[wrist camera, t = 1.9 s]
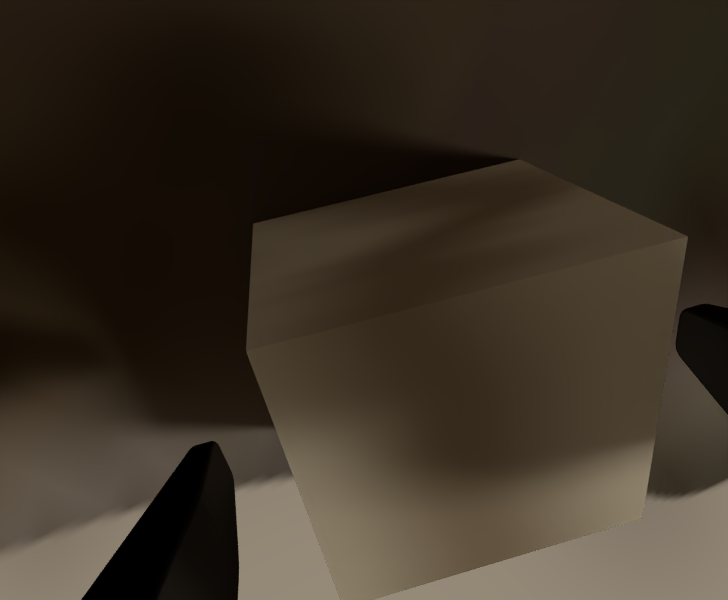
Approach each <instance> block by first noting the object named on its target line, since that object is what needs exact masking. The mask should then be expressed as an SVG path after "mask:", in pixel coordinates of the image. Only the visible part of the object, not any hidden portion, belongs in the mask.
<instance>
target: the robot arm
mask: <svg viewBox="0 0 728 600" xmlns="http://www.w3.org/2000/svg"><path fill="white" fill-rule="evenodd" d="M676 350H677V352H678V354H679V356H680V357H681V359H682V360H683V361H684V362H685V364H686V365H687V366H688V367H689V368H690V370H691V371H692V372H693V373H694V374H695V376H696V377H697V378H698V379H699V381H700V382H701V383H702V384H703V385H704V387H705V388H706V389H707V390H708V391H709V393H710V394H711V395H712V396H713V397H714V399H715V400H716V401H717V402H718V404H719V405H720V406H721V407H722V408H723V410H724V411H725V412H726V413H727V414H728V308H724V307H720V306H715V305H710V304H700V305H697V306H693V307H690V308H686V309H685V310H683V311H682V313H681V314H680V318H679V324H678V330H677V337H676ZM238 556H239V555H238V538H237V522H236V506H235V489H234V479H233V475H232V472H231V469H230V467H229V465H228V463H227V461H226V459H225V457H224V455H223V453H222V451H221V449H220V447H219V445H218V444H217V443H216V442H214V441H210V442H206V443H203V444H199V445H196V446H193V447H192V448H191V449H190V450H189V451H188V453H187V454H186V455H185V457H184V458H183V460H182V461H181V462H180V464H179V465H178V467H177V468H176V469H175V471H174V472H173V473H172V475H171V476H170V478H169V479H168V480H167V482H166V483H165V485H164V486H163V487H162V489H161V490H160V491H159V493H158V494H157V496H156V497H155V498H154V500H153V501H152V503H151V504H150V505H149V507H148V508H147V509H146V511H145V512H144V514H143V515H142V516H141V518H140V519H139V521H138V522H137V523H136V525H135V526H134V527H133V529H132V530H131V532H130V533H129V534H128V536H127V537H126V539H125V540H124V541H123V543H122V544H121V545H120V547H119V548H118V550H117V551H116V553H115V554H114V555H113V557H112V558H111V559H110V561H109V562H108V563H107V565H106V566H105V568H104V569H103V570H102V572H101V573H100V575H99V576H98V577H97V579H96V580H95V581H94V583H93V584H92V586H91V587H90V589H89V590H88V591H87V593H86V594H85V595H84V597H83V598H82V600H238V583H239V557H238Z"/></svg>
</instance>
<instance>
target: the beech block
mask: <svg viewBox="0 0 728 600" xmlns="http://www.w3.org/2000/svg"><path fill="white" fill-rule="evenodd" d="M687 239H688V236H685V235H683V234H681V233H679V232H677V231H675V230H672V229H670V228H668V227H666V226H664V225H661V224H659V223H657V222H655V221H653V220H651V219H648V218H646V217H644V216H642V215H640V214H637V213H635V212H633V211H631V210H629V209H627V208H624V207H622V206H620V205H618V204H616V203H613V202H611V201H609V200H607V199H605V198H603V197H600V196H598V195H596V194H594V193H592V192H589V191H587V190H585V189H583V188H581V187H579V186H576V185H574V184H572V183H570V182H568V181H565V180H563V179H561V178H559V177H557V176H555V175H552V174H550V173H548V172H546V171H544V170H541V169H539V168H537V167H535V166H533V165H531V164H528V163H526V162H524V161H522V160H520V159H519V160H514V161H510V162H506V163H502V164H498V165H494V166H490V167H485V168H481V169H477V170H473V171H469V172H465V173H461V174H457V175H452V176H448V177H444V178H440V179H436V180H432V181H428V182H423V183H419V184H415V185H411V186H407V187H403V188H399V189H394V190H390V191H386V192H382V193H378V194H374V195H370V196H365V197H361V198H357V199H353V200H349V201H345V202H341V203H336V204H332V205H328V206H324V207H320V208H316V209H312V210H307V211H303V212H299V213H295V214H291V215H287V216H283V217H279V218H274V219H270V220H266V221H262V222H258V223H254V224H253V236H252V254H251V271H250V289H249V307H248V324H247V342H246V353H247V355H248V358H249V361H250V363H251V366H252V368H253V371H254V374H255V376H256V379H257V382H258V384H259V387H260V389H261V392H262V395H263V397H264V400H265V403H266V405H267V408H268V410H269V413H270V416H271V418H272V421H273V424H274V426H275V429H276V431H277V434H278V437H279V439H280V442H281V445H282V447H283V450H284V453H285V455H286V458H287V460H288V463H289V466H290V468H291V471H292V474H293V476H294V479H295V481H296V484H297V487H298V489H299V492H300V495H301V497H302V500H303V502H304V505H305V508H306V510H307V513H308V516H309V518H310V521H311V523H312V526H313V529H314V531H315V534H316V537H317V539H318V542H319V545H320V547H321V550H322V552H323V555H324V558H325V560H326V563H327V566H328V568H329V571H330V573H331V576H332V579H333V581H334V584H335V587H336V589H337V592H338V595H339V597H340V600H373V599H376V598H380V597H383V596H386V595H390V594H393V593H396V592H400V591H403V590H406V589H409V588H413V587H416V586H420V585H423V584H426V583H429V582H433V581H436V580H440V579H442V578H446V577H450V576H453V575H456V574H459V573H463V572H466V571H469V570H472V569H476V568H479V567H483V566H486V565H489V564H493V563H496V562H499V561H503V560H506V559H509V558H512V557H516V556H519V555H523V554H526V553H529V552H533V551H536V550H539V549H543V548H546V547H549V546H552V545H556V544H559V543H562V542H565V541H569V540H572V539H576V538H579V537H582V536H586V535H589V534H592V533H596V532H599V531H602V530H606V529H609V528H612V527H616V526H619V525H622V524H626V523H629V522H632V521H636V520H639V519H642V517H643V510H644V504H645V498H646V492H647V486H648V480H649V474H650V467H651V461H652V455H653V449H654V443H655V436H656V430H657V424H658V418H659V412H660V406H661V399H662V393H663V387H664V381H665V375H666V368H667V362H668V356H669V350H670V344H671V338H672V331H673V325H674V319H675V313H676V307H677V300H678V294H679V288H680V282H681V276H682V270H683V263H684V257H685V251H686V245H687Z"/></svg>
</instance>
